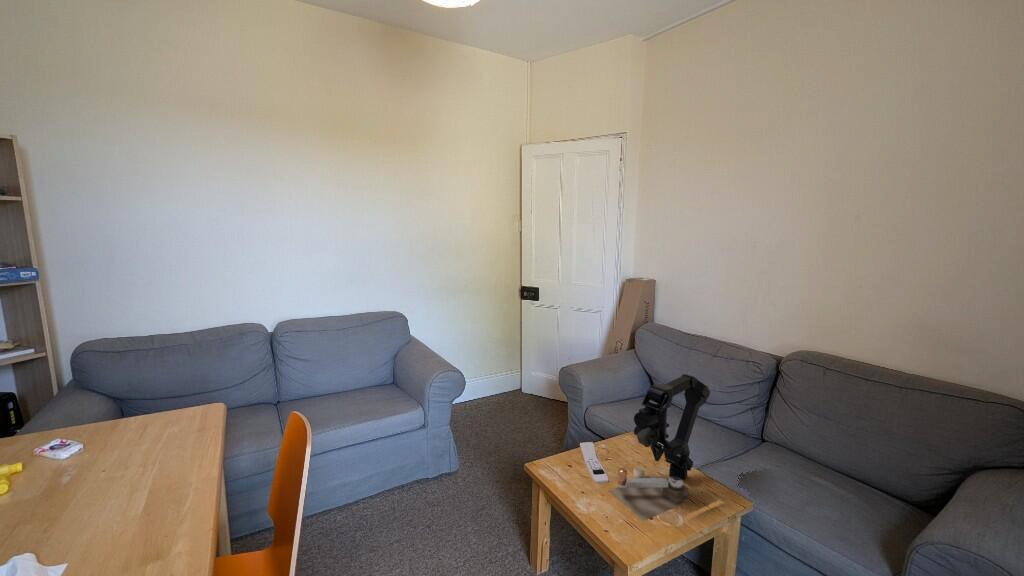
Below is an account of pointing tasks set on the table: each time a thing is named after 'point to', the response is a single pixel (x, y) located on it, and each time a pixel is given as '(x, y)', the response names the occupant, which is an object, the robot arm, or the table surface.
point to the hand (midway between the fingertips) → (657, 460)
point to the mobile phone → (593, 463)
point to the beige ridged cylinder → (638, 472)
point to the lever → (647, 481)
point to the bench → (650, 499)
